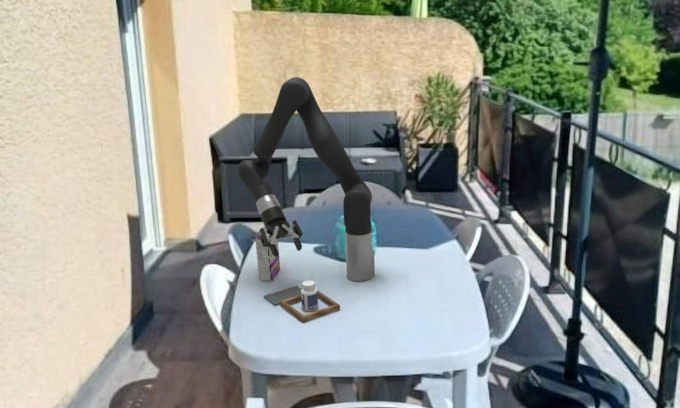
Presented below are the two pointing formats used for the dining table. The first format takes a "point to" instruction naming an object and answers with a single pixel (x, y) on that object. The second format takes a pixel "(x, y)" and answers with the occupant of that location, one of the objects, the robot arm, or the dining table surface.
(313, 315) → the walnut frame
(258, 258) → the candy bar box
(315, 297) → the pill bottle
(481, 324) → the dining table surface
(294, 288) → the charcoal mat
